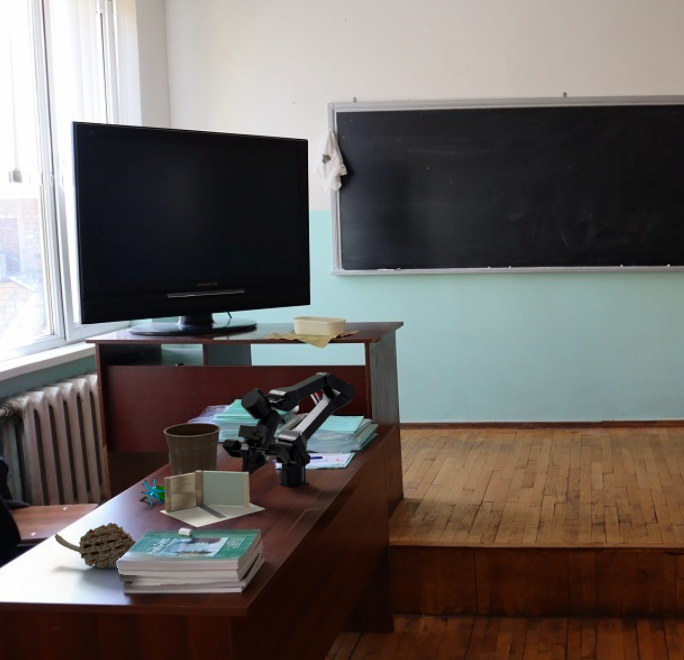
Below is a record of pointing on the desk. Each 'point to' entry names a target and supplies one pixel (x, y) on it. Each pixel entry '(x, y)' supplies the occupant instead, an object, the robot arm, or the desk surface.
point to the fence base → (183, 491)
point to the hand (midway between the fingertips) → (243, 478)
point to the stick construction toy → (153, 492)
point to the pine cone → (101, 545)
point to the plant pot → (192, 447)
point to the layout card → (211, 513)
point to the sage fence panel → (226, 488)
